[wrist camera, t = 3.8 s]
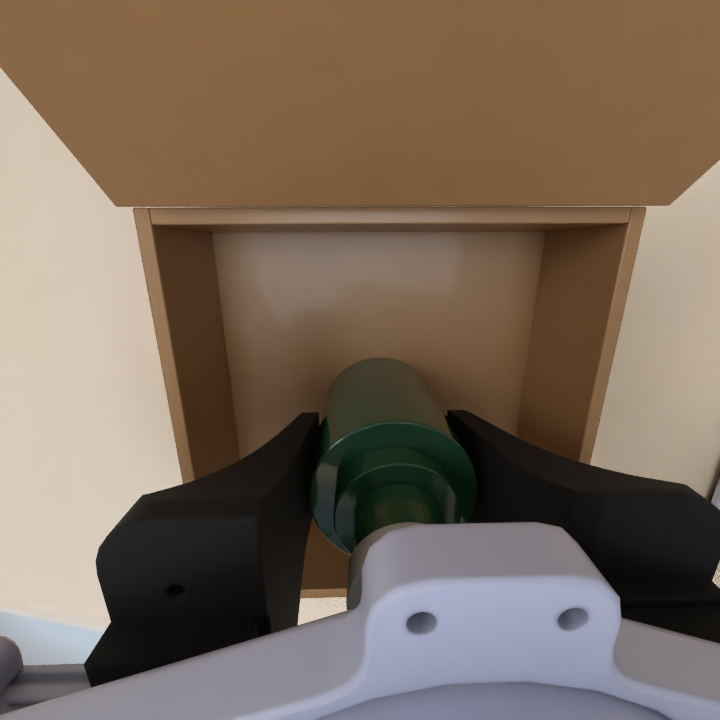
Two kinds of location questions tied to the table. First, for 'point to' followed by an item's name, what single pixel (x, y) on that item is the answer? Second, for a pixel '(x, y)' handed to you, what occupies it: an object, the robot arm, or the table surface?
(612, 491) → the robot arm
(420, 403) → the bottle
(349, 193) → the flap
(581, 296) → the carton
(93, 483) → the table surface
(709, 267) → the table surface
